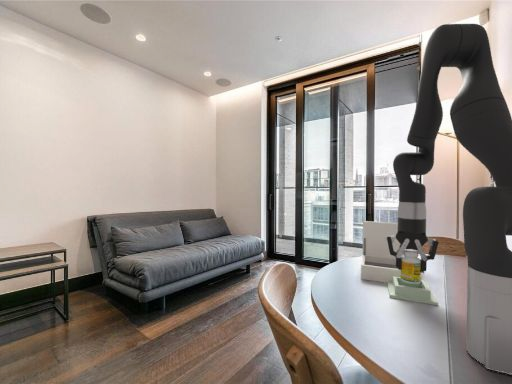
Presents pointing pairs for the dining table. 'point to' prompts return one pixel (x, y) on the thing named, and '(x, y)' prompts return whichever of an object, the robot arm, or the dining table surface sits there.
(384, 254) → the case
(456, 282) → the dining table surface
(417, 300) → the sage holder
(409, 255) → the supplement bottle
